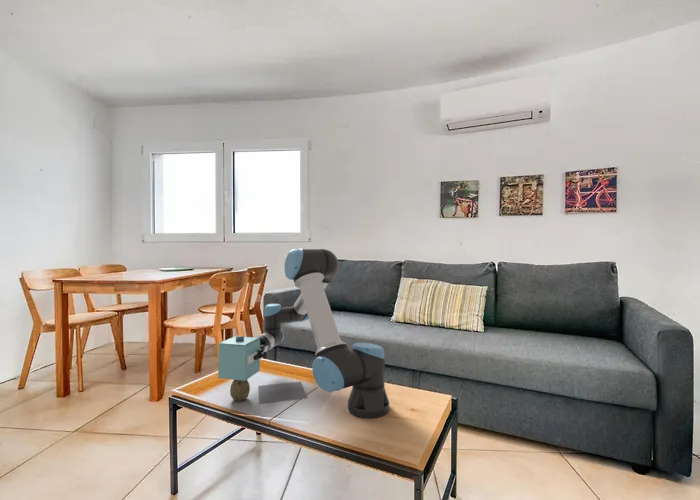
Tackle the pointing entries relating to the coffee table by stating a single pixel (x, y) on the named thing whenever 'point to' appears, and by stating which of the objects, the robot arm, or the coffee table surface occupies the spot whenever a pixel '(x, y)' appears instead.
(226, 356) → the teal box with knob
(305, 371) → the coffee table surface
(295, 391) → the mat
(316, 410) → the coffee table surface
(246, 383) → the decorative egg
